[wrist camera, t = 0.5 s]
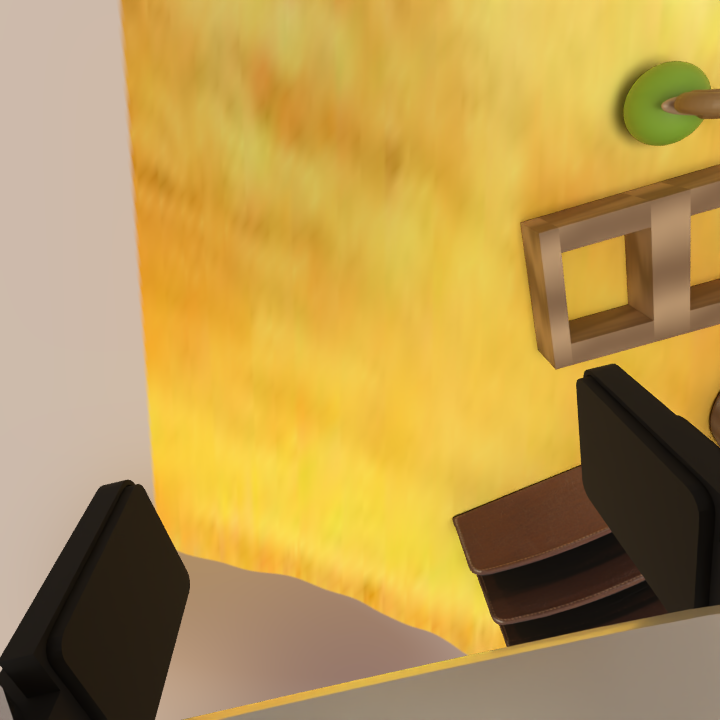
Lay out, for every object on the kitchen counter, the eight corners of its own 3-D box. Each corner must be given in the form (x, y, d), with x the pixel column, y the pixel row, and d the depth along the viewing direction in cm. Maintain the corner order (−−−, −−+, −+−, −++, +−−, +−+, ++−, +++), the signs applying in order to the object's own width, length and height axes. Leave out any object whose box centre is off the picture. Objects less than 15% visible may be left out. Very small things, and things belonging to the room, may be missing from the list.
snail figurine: (682, 141, 42) (810, 155, 31) (603, 144, 42) (705, 158, 31) (700, 63, 40) (845, 47, 29) (616, 64, 39) (731, 49, 28)
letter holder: (648, 509, 59) (740, 620, 46) (481, 574, 61) (524, 697, 49) (629, 442, 55) (725, 544, 42) (450, 515, 57) (489, 633, 44)
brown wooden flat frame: (520, 222, 44) (539, 233, 40) (764, 151, 43) (805, 155, 39) (538, 349, 49) (555, 369, 45) (755, 289, 48) (791, 304, 44)
